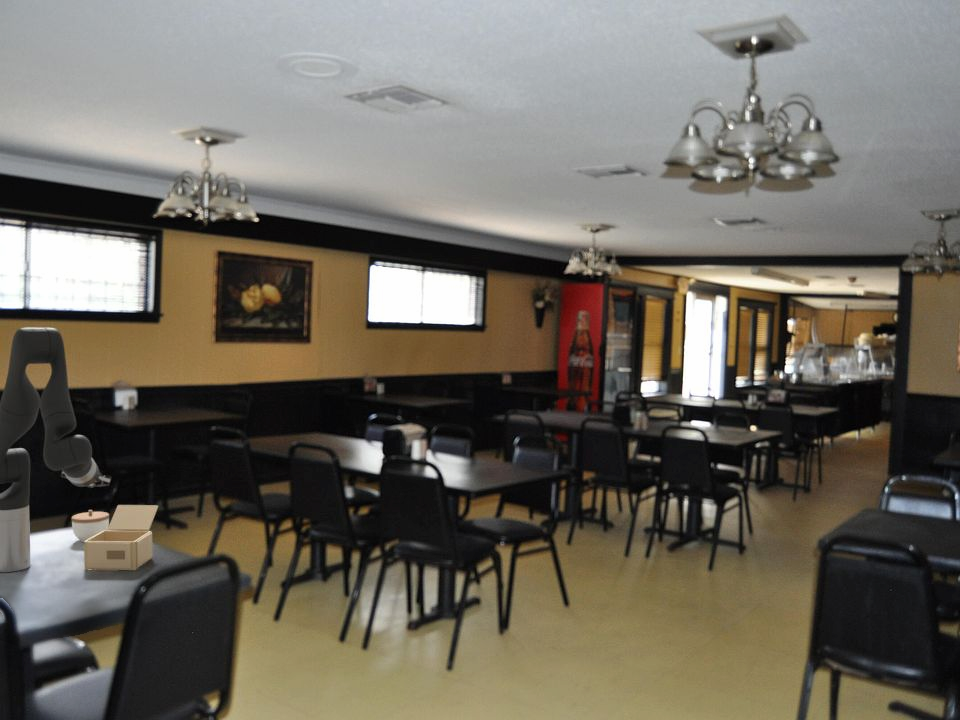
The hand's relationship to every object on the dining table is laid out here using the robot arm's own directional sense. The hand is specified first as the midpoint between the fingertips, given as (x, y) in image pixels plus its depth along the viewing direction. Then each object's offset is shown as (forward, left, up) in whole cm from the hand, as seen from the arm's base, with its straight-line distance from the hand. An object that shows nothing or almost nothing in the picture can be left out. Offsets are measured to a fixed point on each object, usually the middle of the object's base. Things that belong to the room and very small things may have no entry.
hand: (91, 483), depth 237 cm
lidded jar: (-28, +19, -24) cm, 42 cm away
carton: (+2, +7, -24) cm, 25 cm away
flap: (-2, +12, -16) cm, 20 cm away
